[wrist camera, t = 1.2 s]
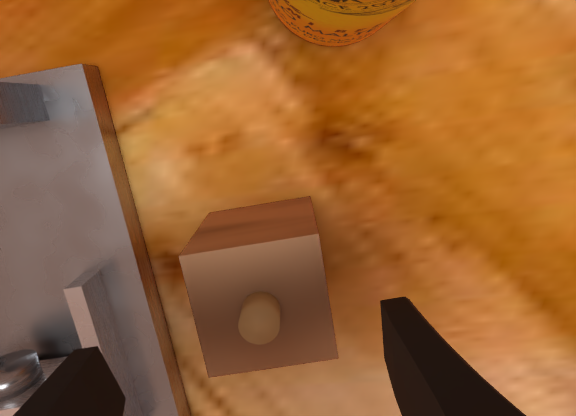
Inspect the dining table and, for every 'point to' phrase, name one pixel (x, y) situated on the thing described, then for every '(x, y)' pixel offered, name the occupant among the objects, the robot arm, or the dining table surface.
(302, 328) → the block
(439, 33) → the dining table surface
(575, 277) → the dining table surface
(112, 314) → the press frame
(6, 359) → the ram
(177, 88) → the dining table surface
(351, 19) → the beer can
